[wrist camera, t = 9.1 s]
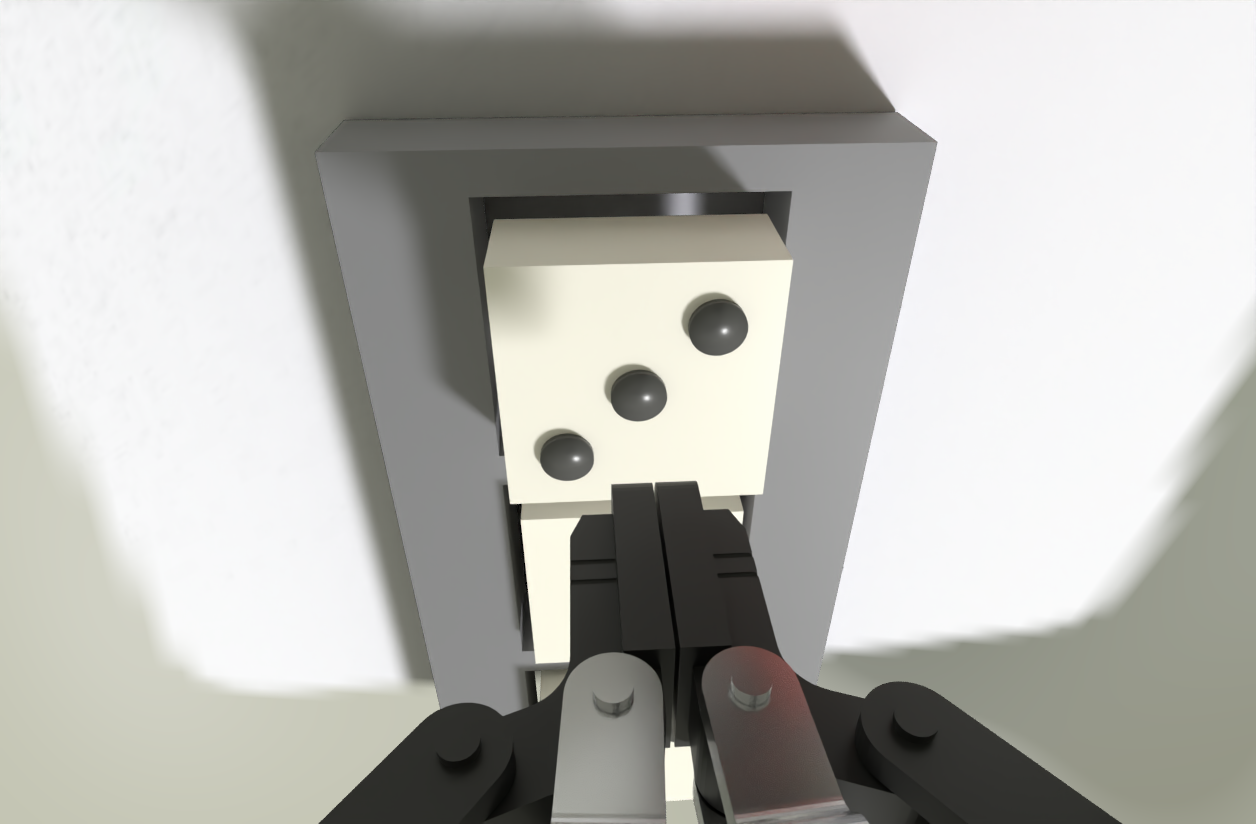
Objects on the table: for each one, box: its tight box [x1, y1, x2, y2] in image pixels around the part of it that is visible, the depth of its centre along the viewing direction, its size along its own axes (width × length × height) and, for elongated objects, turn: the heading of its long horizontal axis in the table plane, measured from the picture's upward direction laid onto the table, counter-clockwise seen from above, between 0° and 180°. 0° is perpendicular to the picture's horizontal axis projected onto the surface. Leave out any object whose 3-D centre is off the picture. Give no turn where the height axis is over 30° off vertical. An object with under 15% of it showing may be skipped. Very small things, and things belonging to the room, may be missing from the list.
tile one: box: [521, 495, 744, 664], centre depth 24 cm, size 6×6×3 cm
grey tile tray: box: [315, 112, 937, 716], centre depth 24 cm, size 13×25×2 cm, turn 0°
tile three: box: [483, 214, 793, 504], centre depth 18 cm, size 6×6×3 cm
